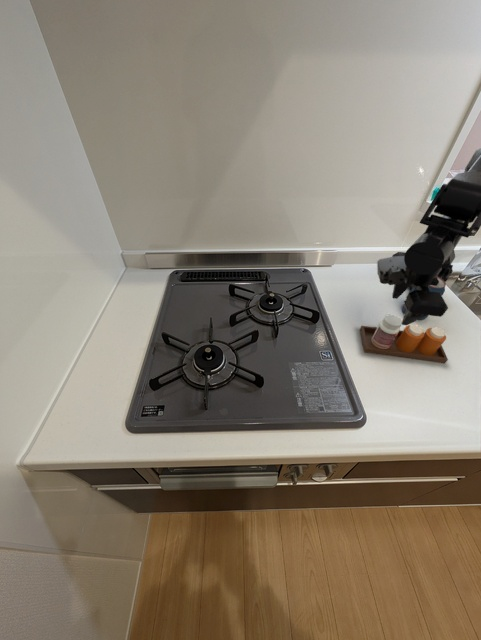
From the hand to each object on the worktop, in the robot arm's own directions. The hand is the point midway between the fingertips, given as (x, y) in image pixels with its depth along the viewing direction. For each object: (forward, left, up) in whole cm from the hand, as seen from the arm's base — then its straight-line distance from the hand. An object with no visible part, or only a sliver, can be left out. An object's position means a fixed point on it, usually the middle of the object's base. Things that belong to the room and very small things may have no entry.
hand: (399, 310), depth 64 cm
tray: (0, +5, -12) cm, 13 cm away
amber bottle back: (0, +11, -12) cm, 16 cm away
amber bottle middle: (0, +6, -12) cm, 13 cm away
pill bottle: (0, 0, -12) cm, 12 cm away
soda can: (-14, +12, -12) cm, 22 cm away
